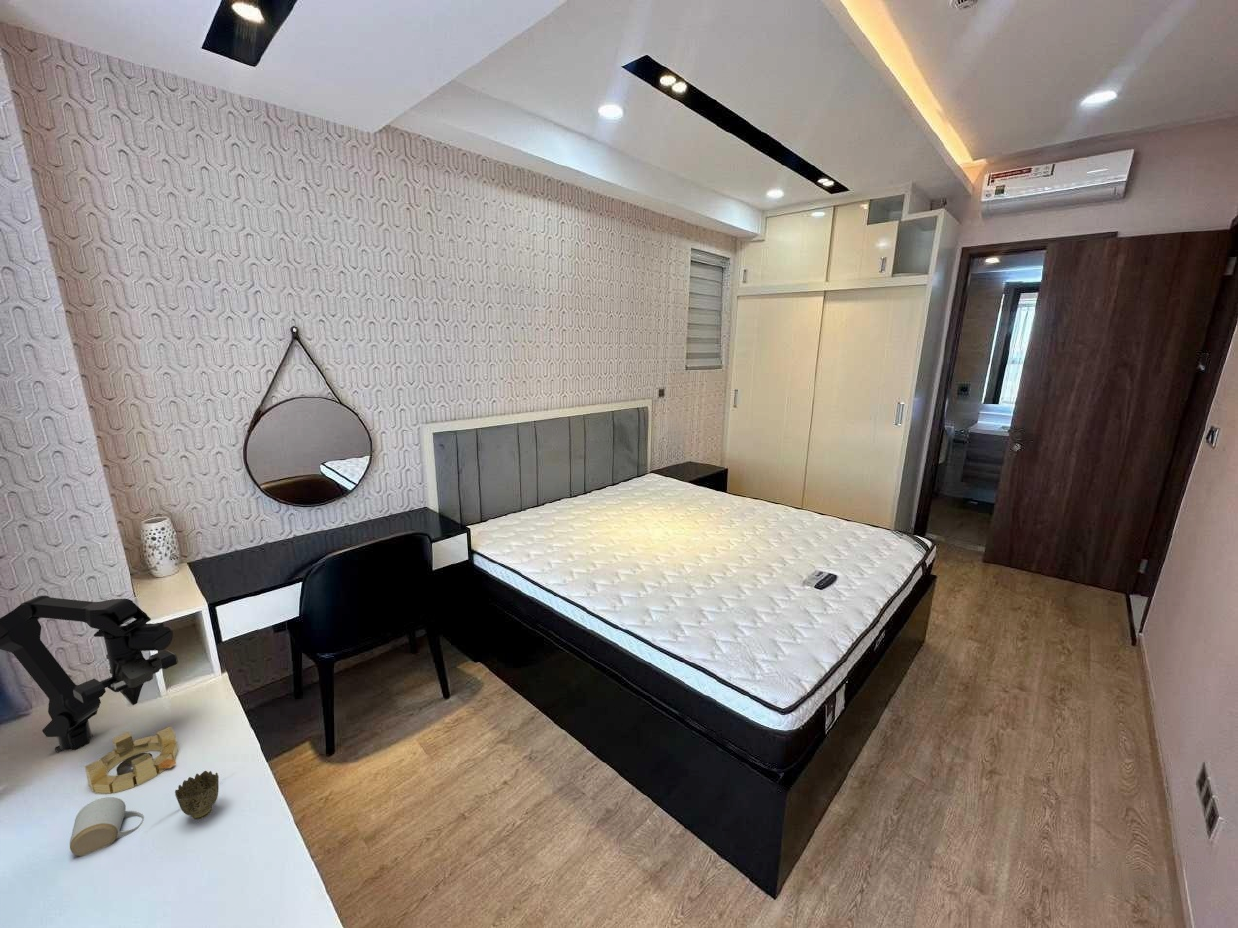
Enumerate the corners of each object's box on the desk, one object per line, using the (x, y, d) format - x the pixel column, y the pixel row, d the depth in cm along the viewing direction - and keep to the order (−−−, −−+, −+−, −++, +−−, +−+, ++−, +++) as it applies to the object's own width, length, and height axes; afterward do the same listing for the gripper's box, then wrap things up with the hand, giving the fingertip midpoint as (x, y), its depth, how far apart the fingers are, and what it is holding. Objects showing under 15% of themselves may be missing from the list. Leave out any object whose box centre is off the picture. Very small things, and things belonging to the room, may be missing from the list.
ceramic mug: (70, 867, 101) (64, 835, 100) (79, 837, 108) (72, 806, 106) (142, 838, 108) (137, 808, 106) (146, 811, 114) (141, 782, 113)
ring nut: (103, 806, 114) (99, 786, 113) (80, 774, 122) (76, 755, 121) (189, 760, 127) (186, 742, 126) (163, 735, 135) (159, 717, 134)
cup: (231, 805, 116) (226, 775, 114) (195, 833, 109) (190, 802, 107) (208, 796, 118) (203, 766, 117) (172, 822, 111) (166, 791, 110)
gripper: (86, 679, 116) (100, 738, 119) (184, 640, 133) (193, 692, 136) (66, 665, 121) (79, 722, 124) (162, 629, 137) (172, 680, 141)
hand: (134, 704), depth 131 cm, fingers closed
